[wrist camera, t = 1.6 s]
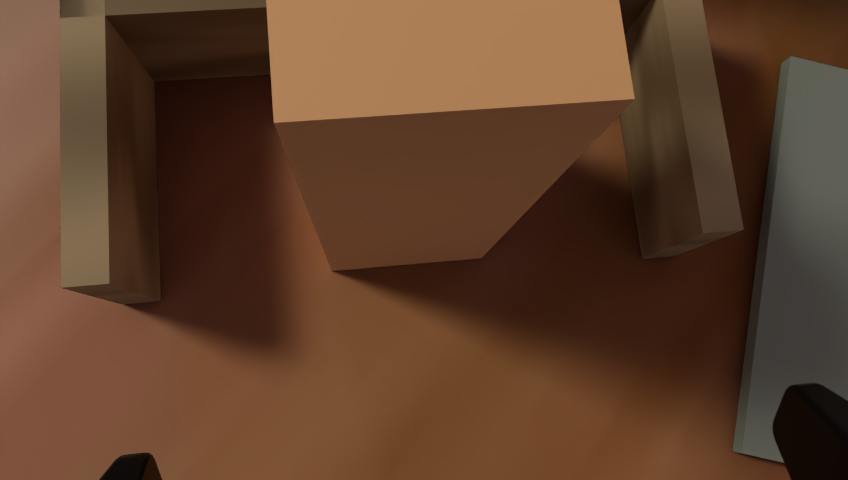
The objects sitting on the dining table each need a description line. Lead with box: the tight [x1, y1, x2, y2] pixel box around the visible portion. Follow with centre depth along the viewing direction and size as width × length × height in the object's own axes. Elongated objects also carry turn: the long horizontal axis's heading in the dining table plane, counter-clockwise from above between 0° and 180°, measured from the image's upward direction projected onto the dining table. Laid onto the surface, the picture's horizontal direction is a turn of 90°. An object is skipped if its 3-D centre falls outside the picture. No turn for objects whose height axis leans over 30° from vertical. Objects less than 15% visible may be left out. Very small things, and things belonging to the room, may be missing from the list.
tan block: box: [266, 0, 635, 271], centre depth 17 cm, size 5×5×14 cm
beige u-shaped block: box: [60, 0, 744, 304], centre depth 22 cm, size 9×18×4 cm, turn 96°
